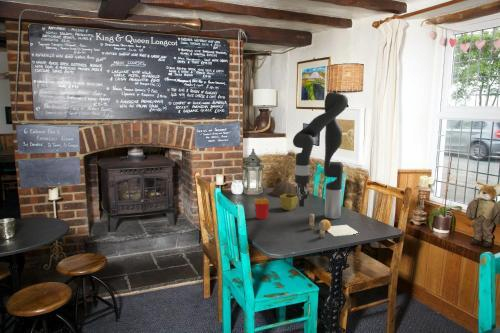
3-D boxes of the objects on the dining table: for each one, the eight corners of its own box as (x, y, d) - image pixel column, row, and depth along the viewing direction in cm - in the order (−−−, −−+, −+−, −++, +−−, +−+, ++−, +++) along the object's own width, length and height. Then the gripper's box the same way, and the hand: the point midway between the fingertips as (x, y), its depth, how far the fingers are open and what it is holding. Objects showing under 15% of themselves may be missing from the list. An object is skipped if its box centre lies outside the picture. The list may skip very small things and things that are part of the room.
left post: (308, 228, 215) (308, 214, 214) (312, 227, 216) (313, 213, 214) (310, 229, 213) (310, 215, 211) (314, 229, 213) (315, 215, 212)
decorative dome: (285, 199, 276) (285, 185, 274) (266, 194, 291) (266, 181, 289) (304, 195, 288) (304, 182, 286) (285, 190, 303) (285, 177, 301)
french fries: (268, 216, 235) (268, 197, 233) (268, 218, 231) (269, 199, 229) (254, 217, 235) (254, 197, 233) (254, 219, 231) (254, 199, 229)
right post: (318, 236, 202) (319, 221, 201) (323, 236, 203) (323, 221, 202) (320, 238, 200) (321, 223, 198) (325, 237, 200) (326, 222, 199)
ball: (317, 230, 213) (316, 220, 210) (325, 225, 216) (324, 216, 213) (325, 234, 208) (324, 224, 206) (333, 229, 211) (332, 220, 209)
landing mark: (321, 227, 217) (321, 226, 217) (346, 225, 220) (346, 224, 220) (334, 236, 202) (334, 236, 202) (360, 234, 206) (360, 233, 206)
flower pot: (291, 212, 245) (291, 198, 243) (279, 209, 250) (279, 196, 249) (298, 209, 252) (298, 195, 250) (286, 206, 257) (286, 193, 255)
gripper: (314, 175, 195) (313, 209, 198) (304, 170, 207) (303, 202, 210) (300, 176, 193) (299, 210, 196) (290, 171, 205) (290, 203, 208)
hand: (301, 206), depth 203 cm, fingers closed
